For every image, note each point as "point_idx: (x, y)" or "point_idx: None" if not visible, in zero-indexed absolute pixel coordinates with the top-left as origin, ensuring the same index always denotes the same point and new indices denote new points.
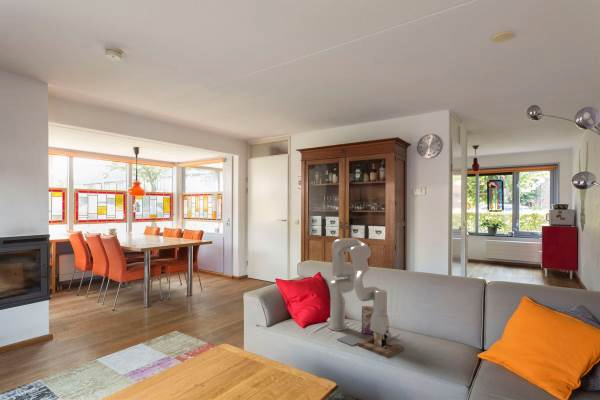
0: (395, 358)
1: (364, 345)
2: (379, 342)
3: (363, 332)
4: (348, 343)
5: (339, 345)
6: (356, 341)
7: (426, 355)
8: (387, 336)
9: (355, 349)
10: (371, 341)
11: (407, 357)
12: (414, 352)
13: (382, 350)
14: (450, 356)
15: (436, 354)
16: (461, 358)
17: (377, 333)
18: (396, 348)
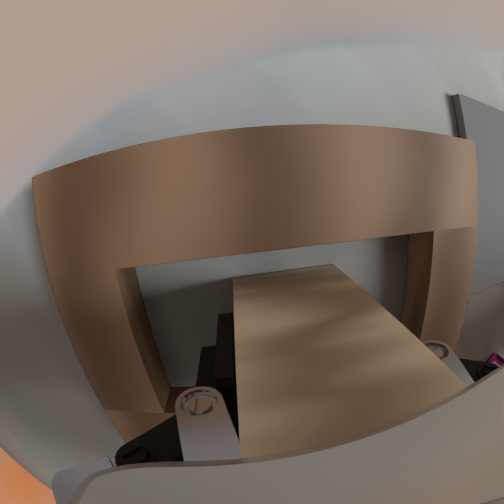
0: (19, 241)
1: (392, 128)
2: (265, 315)
3: (494, 363)
4: (487, 108)
5: (481, 55)
6: (488, 201)
7: (38, 429)
8: (117, 462)
9: (395, 53)
10: (414, 317)
11: (18, 338)
12: (78, 431)
13: (108, 196)
14: (31, 459)
15: (48, 456)
16: (19, 459)
17: (375, 417)
18: (97, 383)
